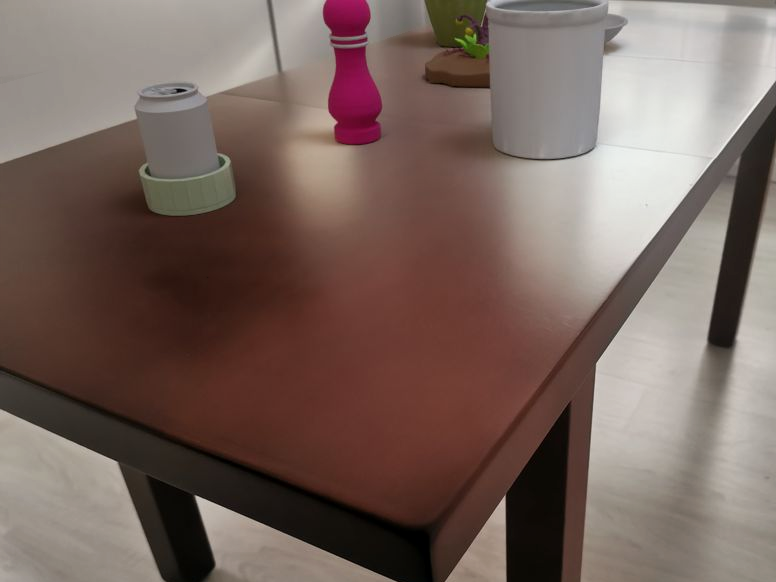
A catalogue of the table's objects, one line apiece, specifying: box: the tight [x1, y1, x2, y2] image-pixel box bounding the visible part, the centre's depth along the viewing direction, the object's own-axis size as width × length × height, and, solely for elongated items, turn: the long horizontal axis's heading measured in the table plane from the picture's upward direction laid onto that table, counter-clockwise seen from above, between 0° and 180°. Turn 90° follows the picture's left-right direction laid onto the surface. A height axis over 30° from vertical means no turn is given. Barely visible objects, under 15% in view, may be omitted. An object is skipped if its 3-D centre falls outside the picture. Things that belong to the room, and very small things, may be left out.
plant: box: [424, 11, 490, 88], centre depth 136 cm, size 20×20×11 cm
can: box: [133, 80, 220, 179], centre depth 88 cm, size 8×8×12 cm
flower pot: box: [423, 0, 488, 48], centre depth 157 cm, size 15×15×16 cm
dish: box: [604, 13, 629, 44], centre depth 154 cm, size 18×14×5 cm
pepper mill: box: [322, 0, 383, 146], centre depth 105 cm, size 7×7×20 cm
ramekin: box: [138, 152, 237, 217], centre depth 91 cm, size 10×10×4 cm
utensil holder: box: [485, 0, 609, 160], centre depth 102 cm, size 15×15×18 cm
